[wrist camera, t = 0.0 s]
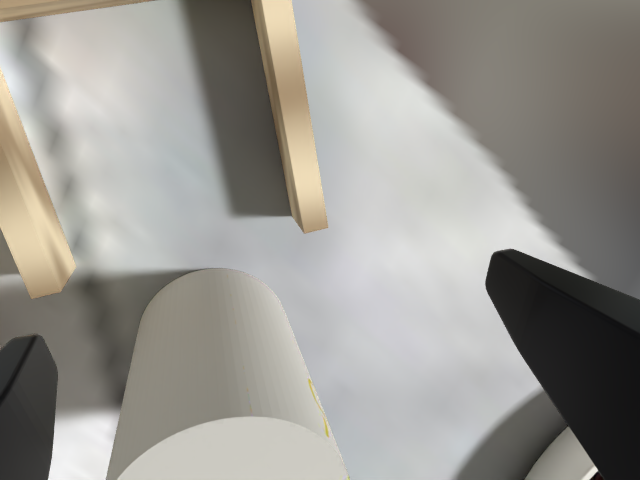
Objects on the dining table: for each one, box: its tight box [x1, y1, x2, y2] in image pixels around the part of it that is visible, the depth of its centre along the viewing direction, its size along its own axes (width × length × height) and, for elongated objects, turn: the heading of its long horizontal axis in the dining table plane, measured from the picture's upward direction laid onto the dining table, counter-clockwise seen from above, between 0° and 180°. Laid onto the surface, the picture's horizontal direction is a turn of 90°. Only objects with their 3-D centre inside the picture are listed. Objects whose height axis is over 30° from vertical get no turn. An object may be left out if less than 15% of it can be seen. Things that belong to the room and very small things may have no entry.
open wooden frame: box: [0, 0, 328, 299], centre depth 21 cm, size 12×13×3 cm
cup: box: [106, 268, 350, 480], centre depth 21 cm, size 8×8×12 cm
